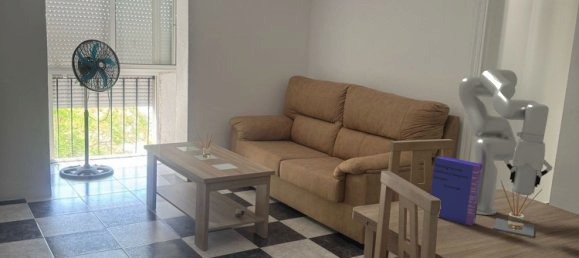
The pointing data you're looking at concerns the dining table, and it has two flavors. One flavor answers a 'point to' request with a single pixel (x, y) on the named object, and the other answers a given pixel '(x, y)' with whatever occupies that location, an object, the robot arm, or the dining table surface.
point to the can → (524, 180)
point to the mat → (502, 226)
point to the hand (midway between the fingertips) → (524, 183)
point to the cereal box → (457, 188)
